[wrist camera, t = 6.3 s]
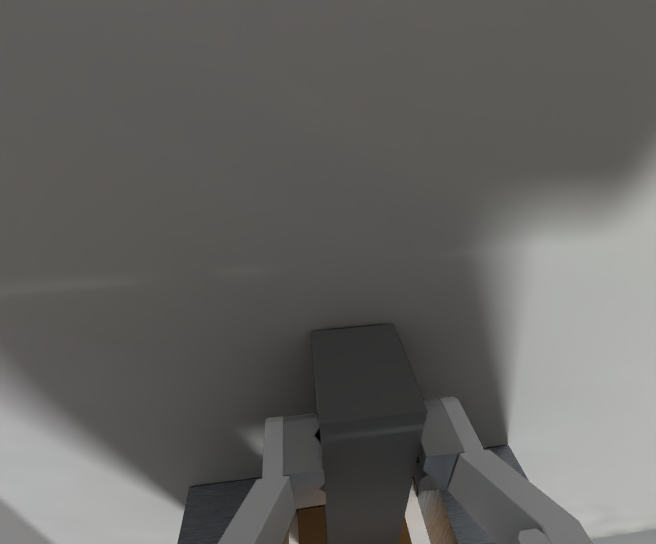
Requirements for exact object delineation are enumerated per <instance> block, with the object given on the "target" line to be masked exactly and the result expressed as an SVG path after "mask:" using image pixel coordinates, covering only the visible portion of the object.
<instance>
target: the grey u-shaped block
mask: <svg viewBox="0 0 656 544" xmlns="http://www.w3.org/2000/svg"><path fill="white" fill-rule="evenodd" d="M484 450H490V451H492V452H493V453H494V454H495V455H497V456H498V457H499V458H500V459H502V460H503V461H504V462H505V463H507V464H508V465H509V466H510V467H512V468H513V469H514V470H515V471H517V472H518V473H519V474H520V475H522V476H523V477H524V478H525V479H527V477H526V475H525V473H524V472H523V470H522V468H521V466H520V465H519V463H518V461H517V459H516V457H515V456H514V454H513V452H512V450H511V449H510V447H509V445H508V446H500V447H493V448H485V449H484ZM258 479H262V478H257V479H250V480H242V481H234V482H227V483H219V484H212V485H204V486H196V487H189V492H188V497H187V501H186V506H185V511H184V515H183V520H182V525H181V529H180V534H179V539H178V543H177V544H218V542H219V541H220V539H221V537H222V536H223V534H224V532H225V531H226V529H227V527H228V526H229V524H230V522H231V521H232V519H233V518H234V516H235V514H236V513H237V511H238V509H239V508H240V506H241V504H242V503H243V501H244V500H245V498H246V496H247V495H248V493H249V491H250V490H251V488H252V486H253V485H254V483H255V482H256V480H258ZM527 480H528V479H527ZM528 481H529V480H528ZM418 502H419V506H420V509H421V512H422V516H423V519H424V522H425V526H426V529H427V532H428V536H429V539H430V542H431V544H496V543H495V542H494V541H493V540H492V539H491V537H490V536H489V535H488V534H487V533H486V532H485V531H484V530H483V529H482V528H481V526H480V525H479V524H478V523H477V522H476V521H475V520H474V519H473V518H472V517H471V515H470V514H469V513H468V512H467V511H466V510H465V509H464V508H463V507H462V506H461V504H460V503H459V502H458V501H457V500H456V499H455V498H454V497H453V496H452V494H451V493H450V492H449V491H448V489H438V490H429V491H420V492H419V494H418ZM282 544H289V529H288V531H287V533H286V536H285V538H284V540H283V543H282Z"/></svg>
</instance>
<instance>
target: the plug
mask: <svg viewBox="0 0 656 544" xmlns="http://www.w3.org/2000/svg"><path fill="white" fill-rule="evenodd" d="M311 339H312V352H313V366H314V379H315V393H316V407H317V413H318V417H319V427H320V442H321V448H322V457H323V468H324V479H325V493H326V504H324V507H317V508H309V509H302V510H298V525H299V544H412V543H411V539H410V535H409V531H408V527H407V523H406V519H405V511H406V507H407V502H408V498H409V493H410V489H411V484H412V479H413V475H414V470H415V465H416V461H417V457H418V451H419V446H420V442H421V439H422V434H423V430H424V425H425V421H426V416H427V412H428V411H427V408H426V406H425V403H424V401H423V398H422V396H421V393H420V391H419V388H418V386H417V383H416V381H415V378H414V376H413V373H412V370H411V368H410V365H409V363H408V360H407V358H406V355H405V353H404V350H403V348H402V345H401V343H400V340H399V338H398V335H397V333H396V330H395V328H394V325H393V324H386V325H375V326H365V327H355V328H344V329H334V330H323V331H313V332H311Z"/></svg>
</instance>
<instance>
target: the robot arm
mask: <svg viewBox="0 0 656 544" xmlns="http://www.w3.org/2000/svg"><path fill="white" fill-rule="evenodd" d="M423 401H424V403H425V406H426V408H427V411H428V412H427V416H426V421H425V425H424V430H423V434H422V439H421V442H420V446H419V451H418V457H417V461H416V465H415V470H414V475H413V477H414V480H415V483H416V486H417V489H418V492H420V491H429V490H438V489H448V491H449V492H450V493H451V494H452V496H453V497H454V498H455V499H456V500H457V501H458V502H459V503H460V504H461V506H462V507H463V508H464V509H465V510H466V511H467V512H468V513H469V514H470V515H471V517H472V518H473V519H474V520H475V521H476V522H477V523H478V524H479V525H480V526H481V528H482V529H483V530H484V531H485V532H486V533H487V534H488V535H489V536H490V537H491V539H492V540H493V541H494V542H495V543H496V544H593V543H592V541H591V540H590V538H589V537H588V535H587V533H586V532H585V530H584V529H583V527H582V525H581V524H580V522H579V521H578V520H577V519H576V518H574V517H573V516H572V515H571V514H569V513H568V512H567V511H566V510H564V509H563V508H562V507H561V506H559V505H558V504H557V503H556V502H554V501H553V500H552V499H551V498H549V497H548V496H547V495H546V494H544V493H543V492H542V491H541V490H539V489H538V488H537V487H535V486H534V485H533V484H532V483H530V482H529V481H528V480H527V479H525V478H524V477H523V476H522V475H520V474H519V473H518V472H517V471H515V470H514V469H513V468H512V467H510V466H509V465H508V464H507V463H505V462H504V461H503V460H502V459H500V458H499V457H498V456H497V455H495V454H494V453H493V452H492V451H490V450H484V449H483V447H482V445H481V443H480V441H479V439H478V437H477V435H476V433H475V431H474V429H473V427H472V425H471V423H470V421H469V419H468V417H467V415H466V413H465V411H464V409H463V407H462V406H461V404H460V402H459V400H458V399H457V398H456V397H454V396H451V397H443V398H432V399H424V400H423ZM324 504H326V493H325V479H324V468H323V457H322V448H321V442H320V427H319V417H318V413H310V414H300V415H291V416H280V417H271V418H266V422H265V431H264V450H263V470H262V479H258V480H256V482H255V483H254V485H253V486H252V488H251V490H250V491H249V493H248V495H247V496H246V498H245V500H244V501H243V503H242V504H241V506H240V508H239V509H238V511H237V513H236V514H235V516H234V518H233V519H232V521H231V522H230V524H229V526H228V527H227V529H226V531H225V532H224V534H223V536H222V537H221V539H220V541H219V542H218V544H282V543H283V540H284V538H285V536H286V533H287V531H288V529H289V526H290V524H291V522H292V520H293V517H294V515H295V513H296V509H300V508H306V507H312V506H318V505H324Z"/></svg>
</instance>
